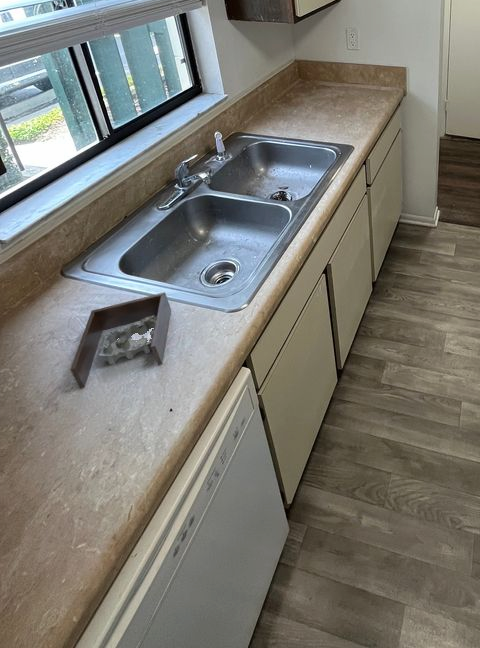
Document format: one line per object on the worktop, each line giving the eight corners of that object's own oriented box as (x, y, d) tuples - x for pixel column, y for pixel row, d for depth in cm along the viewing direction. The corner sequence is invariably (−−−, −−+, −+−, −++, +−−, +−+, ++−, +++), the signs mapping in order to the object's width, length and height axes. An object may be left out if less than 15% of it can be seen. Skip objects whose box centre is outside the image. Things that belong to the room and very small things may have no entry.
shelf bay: (80, 388, 89) (70, 369, 86) (99, 328, 102) (91, 310, 99) (162, 364, 93) (155, 345, 91) (171, 309, 106) (165, 291, 103)
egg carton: (162, 325, 102) (157, 313, 100) (156, 353, 96) (151, 341, 94) (110, 338, 99) (105, 325, 98) (100, 368, 93) (94, 355, 91)
